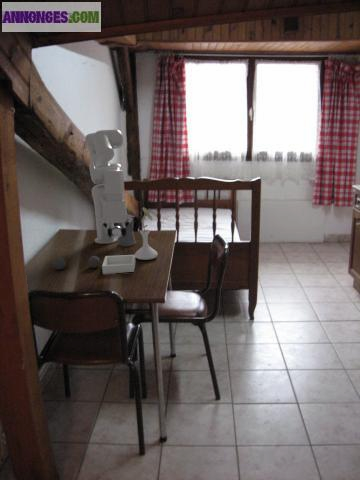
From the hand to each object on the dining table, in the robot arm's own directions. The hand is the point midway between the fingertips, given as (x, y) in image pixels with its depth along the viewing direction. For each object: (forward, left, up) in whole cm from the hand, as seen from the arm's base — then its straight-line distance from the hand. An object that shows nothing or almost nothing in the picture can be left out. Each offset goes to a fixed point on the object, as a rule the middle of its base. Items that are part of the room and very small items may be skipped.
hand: (117, 236), depth 216 cm
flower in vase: (-14, +12, -16) cm, 24 cm away
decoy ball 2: (-3, -12, -13) cm, 18 cm away
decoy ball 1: (-3, -28, -13) cm, 31 cm away
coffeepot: (-38, +2, -16) cm, 41 cm away
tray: (0, 0, -16) cm, 16 cm away
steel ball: (0, 0, +2) cm, 2 cm away
